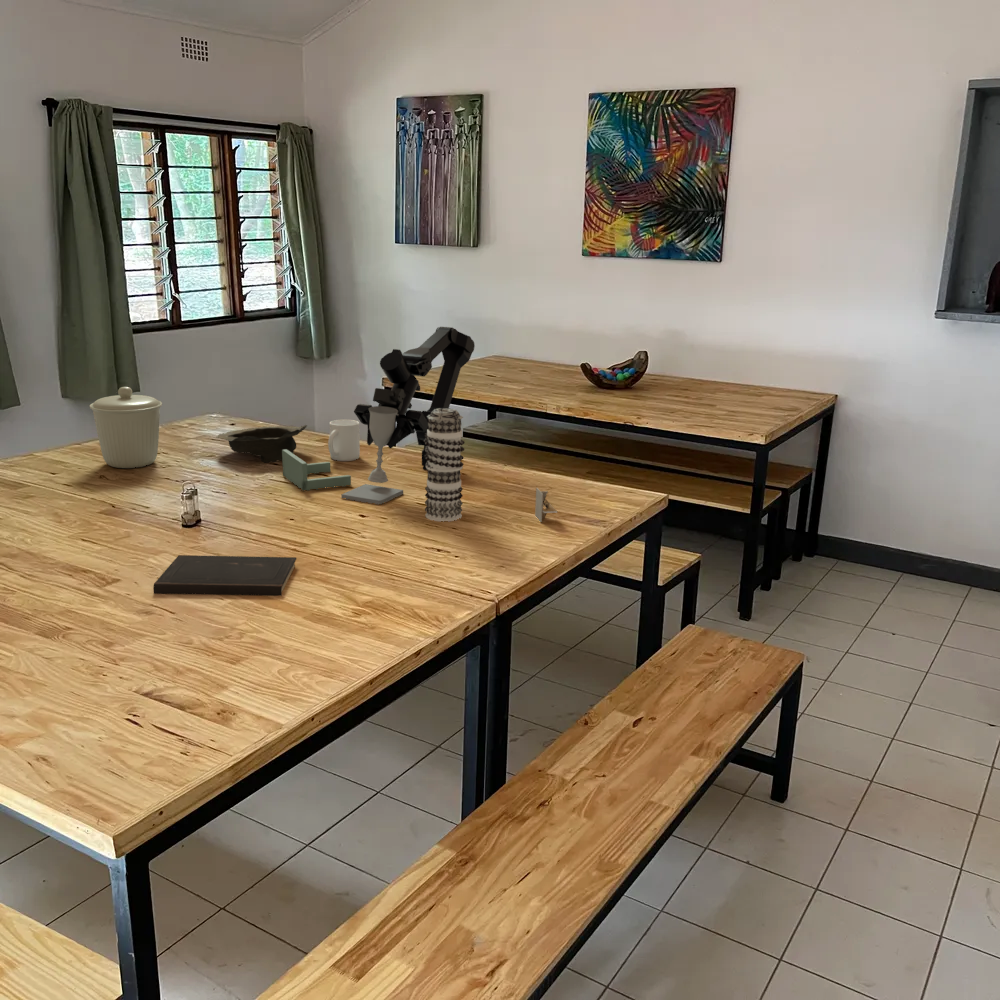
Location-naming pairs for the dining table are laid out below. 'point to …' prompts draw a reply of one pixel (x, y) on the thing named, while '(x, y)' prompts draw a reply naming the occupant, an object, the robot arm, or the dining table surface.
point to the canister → (127, 428)
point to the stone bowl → (263, 441)
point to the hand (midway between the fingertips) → (378, 445)
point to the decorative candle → (444, 465)
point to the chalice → (381, 436)
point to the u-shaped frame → (299, 469)
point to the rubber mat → (372, 494)
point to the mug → (344, 440)
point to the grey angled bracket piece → (540, 502)
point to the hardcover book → (225, 575)
